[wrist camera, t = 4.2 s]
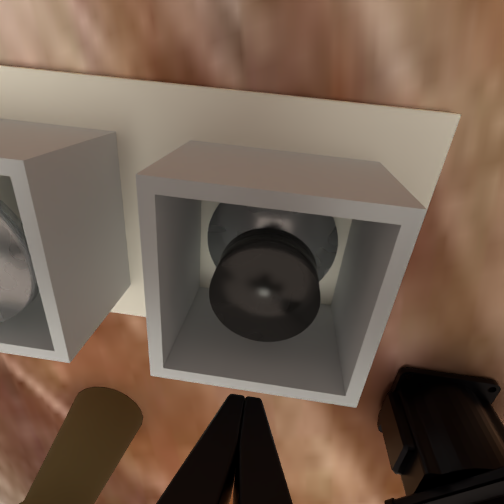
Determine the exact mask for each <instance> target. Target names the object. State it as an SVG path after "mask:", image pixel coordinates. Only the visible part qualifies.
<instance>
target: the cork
mask: <svg viewBox="0 0 504 504" xmlns="http://www.w3.org/2000/svg"><path fill="white" fill-rule="evenodd" d="M142 420H143V416H142V413H141V410H140V408H139V407H138V406H137V404H136V403H135V402H134V401H133V400H131V399H130V398H129V397H128V396H126V395H124V394H122V393H120V392H118V391H116V390H112V389H108V388H104V387H92V388H87V389H84V390H83V391H81V392H80V393H78V395H77V397H76V399H75V400H74V402H73V404H72V406H71V408H70V410H69V412H68V414H67V416H66V418H65V420H64V422H63V424H62V426H61V428H60V430H59V432H58V434H57V436H56V438H55V440H54V442H53V444H52V446H51V448H50V450H49V452H48V454H47V456H46V458H45V460H44V462H43V464H42V466H41V468H40V470H39V472H38V474H37V476H36V478H35V480H34V482H33V484H32V486H31V488H30V490H29V492H28V494H27V496H26V498H25V500H24V501H23V502H21V503H19V504H94V503H95V501H96V500H97V498H98V496H99V495H100V493H101V491H102V490H103V488H104V486H105V485H106V483H107V481H108V480H109V478H110V476H111V475H112V473H113V471H114V470H115V468H116V466H117V465H118V463H119V461H120V460H121V458H122V456H123V455H124V453H125V451H126V450H127V448H128V446H129V445H130V443H131V441H132V440H133V438H134V436H135V435H136V433H137V431H138V430H139V428H140V426H141V425H142Z"/></svg>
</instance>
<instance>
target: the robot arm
mask: <svg viewBox="0 0 504 504" xmlns="http://www.w3.org/2000/svg"><path fill="white" fill-rule="evenodd" d="M408 374H409V375H408ZM500 390H501V388H500V386H499V385H498V383H497V382H496V381H495V380H491V379H484V378H477V377H471V376H464V375H457V374H450V373H444V372H437V371H430V370H423V369H416V368H410V367H405V368H402V369H400V370H399V372H398V375H397V377H396V379H395V382H394V384H393V387H392V389H391V391H390V392H389V393H388V394H387V396H386V398H385V401H384V403H383V405H382V408H381V410H380V413H379V420H378V423H377V425H378V429H379V431H380V432H382V433H383V437H384V441H385V445H386V449H387V453H388V457H389V461H390V465H391V469H392V470H393V472H394V473H395V474H400V475H401V479H402V482H403V486H404V490H405V494H406V496H404V497H401V498H398V499H394V498H391V499H388V500H385V504H504V426H503V424H502V422H501V421H500V419H499V417H498V416H497V414H496V412H495V411H494V409H493V407H492V406H491V404H492V403H493V401H494V400H495V398H496V396H497V395H498V393H499V392H500ZM234 478H235V480H234ZM233 484H234V489H233ZM232 489H233V504H293V503H292V500H291V497H290V493H289V490H288V487H287V483H286V480H285V477H284V473H283V470H282V467H281V463H280V460H279V456H278V453H277V450H276V446H275V443H274V440H273V436H272V433H271V430H270V426H269V423H268V420H267V416H266V413H265V410H264V406H263V403H262V400H261V399H260V398H256V397H249V396H248V397H246V398H245V397H244V396H243V395H236V394H230V395H229V396H228V397H227V399H226V400H225V402H224V403H223V405H222V406H221V408H220V409H219V411H218V412H217V414H216V415H215V417H214V418H213V420H212V421H211V422H210V424H209V425H208V427H207V428H206V430H205V431H204V433H203V434H202V436H201V437H200V439H199V440H198V442H197V443H196V445H195V446H194V448H193V449H192V451H191V452H190V454H189V455H188V457H187V458H186V460H185V461H184V463H183V464H182V466H181V467H180V469H179V470H178V472H177V473H176V475H175V476H174V478H173V479H172V481H171V482H170V484H169V485H168V487H167V488H166V490H165V491H164V493H163V494H162V496H161V497H160V499H159V500H158V502H157V503H156V504H229V502H230V498H231V494H232Z"/></svg>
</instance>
